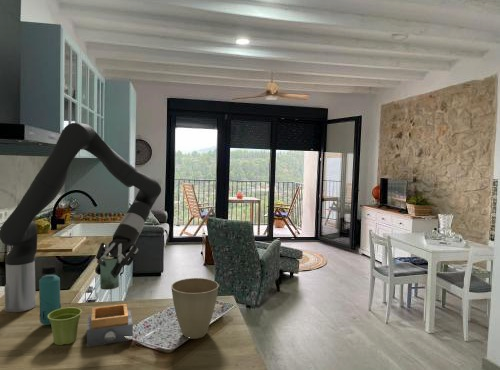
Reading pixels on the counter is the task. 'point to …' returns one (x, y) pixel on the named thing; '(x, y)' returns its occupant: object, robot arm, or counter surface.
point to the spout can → (108, 272)
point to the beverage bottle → (49, 293)
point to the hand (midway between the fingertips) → (105, 274)
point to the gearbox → (109, 325)
